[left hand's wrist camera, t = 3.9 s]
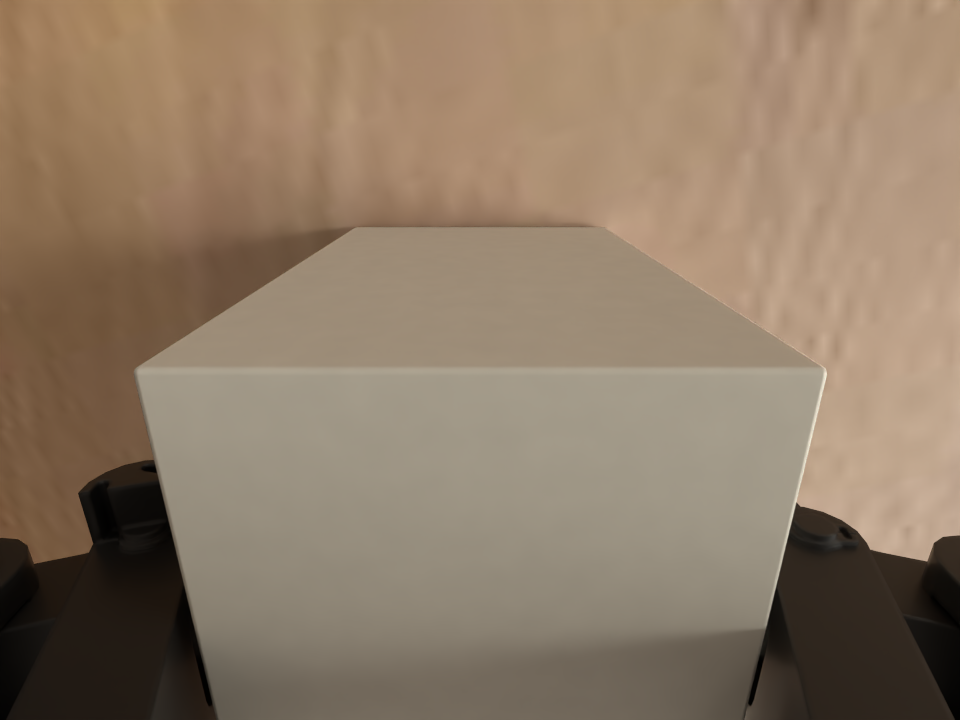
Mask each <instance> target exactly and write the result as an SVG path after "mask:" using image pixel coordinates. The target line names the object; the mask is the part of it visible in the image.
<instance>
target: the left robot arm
mask: <svg viewBox="0 0 960 720" xmlns="http://www.w3.org/2000/svg"><path fill="white" fill-rule="evenodd" d="M78 495H79V498H80V501H81V504H82V508H83V511H84V514H85V518H86V521H87V524H88V527H89V531H90V534H91V537H92V541H93V546H92V548H91V550H90V552H89V553H86V554H82V555H77V556H72V557H67V558H62V559H57V560H52V561H47V562H42V563H37V564H34V563H33V560H32V557H31V554H30V552H29V549H28V546H27V545H26V544H24V543H23V542H21V541H20V540H18V539H7V538H0V720H216V716H215V711H214V707H213V703H212V699H211V695H210V691H209V686H208V682H207V678H206V674H205V670H204V666H203V661H202V657H201V653H200V649H199V645H198V641H197V636H196V632H195V628H194V624H193V620H192V616H191V611H190V607H189V603H188V599H187V595H186V591H185V586H184V582H183V578H182V574H181V570H180V565H179V561H178V557H177V553H176V549H175V545H174V540H173V536H172V532H171V528H170V524H169V520H168V515H167V511H166V507H165V503H164V499H163V495H162V490H161V486H160V482H159V478H158V474H157V470H156V465H155V461H154V460H147V461H141V462H137V463H132V464H128V465H124V466H121V467H119V468H116V469H113V470H111V471H108V472H105V473H104V474H102V475H100V476H99V477H97V478H95V479H94V480H92V481H90V482H89V483H88V484H87V485H86V486H85V487H84V488H83V489H82V490H81V491H80V492H79V493H78ZM744 720H960V536H949V537H942V538H941V539H939V540H938V541H936V542H935V543H934V545H933V548H932V550H931V553H930V556H929V559H928V562H926V561H921V560H916V559H911V558H906V557H901V556H896V555H891V554H886V553H881V552H877V551H873V550H870V549H869V547H868V545H867V543H866V542H865V540H864V539H863V538H862V537H861V535H860V534H859V533H858V532H857V531H856V530H855V529H853V528H852V527H850V526H849V525H848V524H846V523H845V522H843V521H842V520H840V519H837V518H835V517H833V516H831V515H828V514H826V513H824V512H821V511H817V510H813V509H809V508H805V507H800V506H799V505H798V504H797V502H796V506H795V510H794V514H793V518H792V522H791V526H790V530H789V535H788V539H787V543H786V547H785V551H784V555H783V560H782V564H781V568H780V572H779V576H778V580H777V585H776V589H775V593H774V597H773V601H772V605H771V610H770V614H769V618H768V622H767V626H766V630H765V635H764V639H763V643H762V647H761V651H760V655H759V660H758V664H757V668H756V672H755V676H754V680H753V684H752V689H751V693H750V697H749V701H748V705H747V709H746V714H745V718H744Z"/></svg>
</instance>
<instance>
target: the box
mask: <svg viewBox="0 0 960 720" xmlns="http://www.w3.org/2000/svg"><path fill="white" fill-rule="evenodd" d="M826 377H827V372H826V369H825V368H824V367H823V366H821V365H820V364H818V363H817V362H815V361H813V360H812V359H810V358H809V357H807V356H806V355H804V354H802V353H801V352H799V351H798V350H796V349H795V348H793V347H792V346H790V345H788V344H787V343H785V342H784V341H782V340H781V339H779V338H777V337H776V336H774V335H773V334H771V333H770V332H768V331H766V330H765V329H763V328H762V327H760V326H759V325H757V324H755V323H754V322H752V321H751V320H749V319H748V318H746V317H745V316H743V315H741V314H740V313H738V312H737V311H735V310H734V309H732V308H730V307H729V306H727V305H726V304H724V303H723V302H721V301H719V300H718V299H716V298H715V297H713V296H712V295H710V294H709V293H707V292H705V291H704V290H702V289H701V288H699V287H698V286H696V285H694V284H693V283H691V282H690V281H688V280H687V279H685V278H683V277H682V276H680V275H679V274H677V273H676V272H674V271H672V270H671V269H669V268H668V267H666V266H665V265H663V264H662V263H660V262H658V261H657V260H655V259H654V258H652V257H651V256H649V255H647V254H646V253H644V252H643V251H641V250H640V249H638V248H636V247H635V246H633V245H632V244H630V243H629V242H627V241H626V240H624V239H622V238H621V237H619V236H618V235H616V234H615V233H613V232H611V231H610V230H608V229H607V228H605V227H356V228H354V229H352V230H350V231H349V232H347V233H346V234H344V235H343V236H341V237H340V238H338V239H336V240H335V241H333V242H332V243H330V244H329V245H327V246H325V247H324V248H322V249H321V250H319V251H318V252H316V253H314V254H313V255H311V256H310V257H308V258H307V259H305V260H304V261H302V262H300V263H299V264H297V265H296V266H294V267H293V268H291V269H289V270H288V271H286V272H285V273H283V274H282V275H280V276H279V277H277V278H275V279H274V280H272V281H271V282H269V283H268V284H266V285H264V286H263V287H261V288H260V289H258V290H257V291H255V292H254V293H252V294H250V295H249V296H247V297H246V298H244V299H243V300H241V301H239V302H238V303H236V304H235V305H233V306H232V307H230V308H228V309H227V310H225V311H224V312H222V313H221V314H219V315H218V316H216V317H214V318H213V319H211V320H210V321H208V322H207V323H205V324H203V325H202V326H200V327H199V328H197V329H196V330H194V331H193V332H191V333H189V334H188V335H186V336H185V337H183V338H182V339H180V340H178V341H177V342H175V343H174V344H172V345H171V346H169V347H167V348H166V349H164V350H163V351H161V352H160V353H158V354H157V355H155V356H153V357H152V358H150V359H149V360H147V361H146V362H144V363H142V364H141V365H139V366H138V367H136V368H135V370H134V378H135V382H136V386H137V390H138V394H139V399H140V403H141V407H142V411H143V415H144V420H145V424H146V428H147V432H148V436H149V440H150V445H151V449H152V453H153V457H154V461H155V465H156V470H157V474H158V478H159V482H160V486H161V490H162V495H163V499H164V503H165V507H166V511H167V515H168V520H169V524H170V528H171V532H172V536H173V540H174V545H175V549H176V553H177V557H178V561H179V565H180V570H181V574H182V578H183V582H184V586H185V591H186V595H187V599H188V603H189V607H190V611H191V616H192V620H193V624H194V628H195V632H196V636H197V641H198V645H199V649H200V653H201V657H202V661H203V666H204V670H205V674H206V678H207V682H208V686H209V691H210V695H211V699H212V703H213V707H214V711H215V716H216V720H744V718H745V714H746V709H747V705H748V701H749V697H750V693H751V689H752V684H753V680H754V676H755V672H756V668H757V664H758V660H759V655H760V651H761V647H762V643H763V639H764V635H765V630H766V626H767V622H768V618H769V614H770V610H771V605H772V601H773V597H774V593H775V589H776V585H777V580H778V576H779V572H780V568H781V564H782V560H783V555H784V551H785V547H786V543H787V539H788V535H789V530H790V526H791V522H792V518H793V514H794V510H795V506H796V501H797V497H798V493H799V489H800V485H801V481H802V476H803V472H804V468H805V464H806V460H807V456H808V451H809V447H810V443H811V439H812V435H813V431H814V426H815V422H816V418H817V414H818V410H819V406H820V401H821V397H822V393H823V389H824V385H825V381H826Z"/></svg>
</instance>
